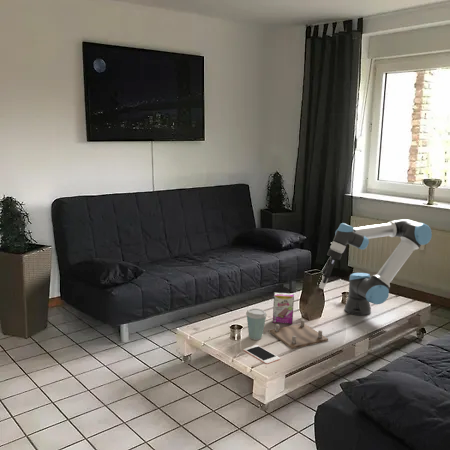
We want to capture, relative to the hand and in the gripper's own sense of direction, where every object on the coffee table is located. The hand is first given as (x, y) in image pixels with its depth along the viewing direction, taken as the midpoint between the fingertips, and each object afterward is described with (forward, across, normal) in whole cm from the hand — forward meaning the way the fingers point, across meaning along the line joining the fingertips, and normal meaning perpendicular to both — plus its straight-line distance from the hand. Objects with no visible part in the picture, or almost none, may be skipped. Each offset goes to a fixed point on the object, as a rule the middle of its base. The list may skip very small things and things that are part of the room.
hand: (320, 286), depth 272 cm
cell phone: (+39, +34, -16) cm, 54 cm away
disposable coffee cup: (+36, +16, -21) cm, 45 cm away
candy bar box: (+28, -7, -10) cm, 30 cm away
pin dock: (+28, +11, -1) cm, 30 cm away
